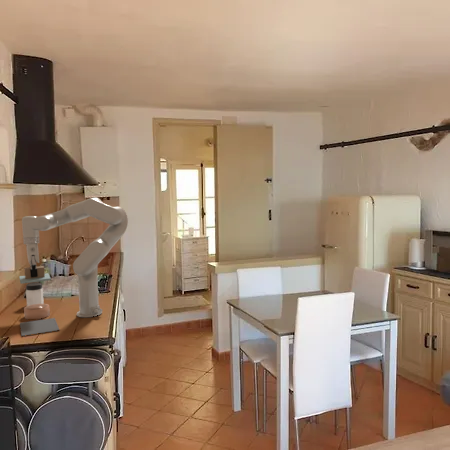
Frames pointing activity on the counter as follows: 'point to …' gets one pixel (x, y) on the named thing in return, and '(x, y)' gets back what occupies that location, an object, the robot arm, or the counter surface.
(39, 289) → the jar
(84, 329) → the counter surface
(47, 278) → the cover
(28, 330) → the mat
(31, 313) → the bowl
